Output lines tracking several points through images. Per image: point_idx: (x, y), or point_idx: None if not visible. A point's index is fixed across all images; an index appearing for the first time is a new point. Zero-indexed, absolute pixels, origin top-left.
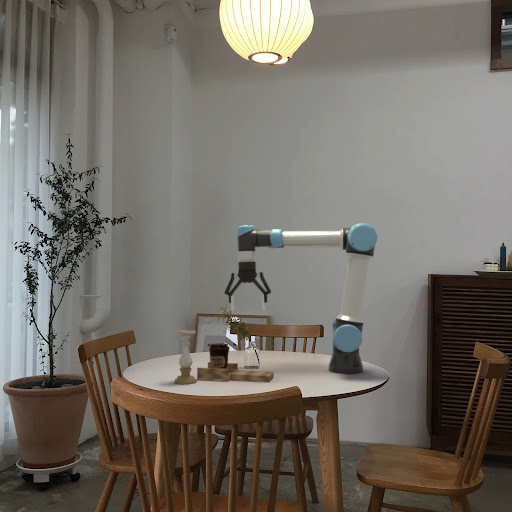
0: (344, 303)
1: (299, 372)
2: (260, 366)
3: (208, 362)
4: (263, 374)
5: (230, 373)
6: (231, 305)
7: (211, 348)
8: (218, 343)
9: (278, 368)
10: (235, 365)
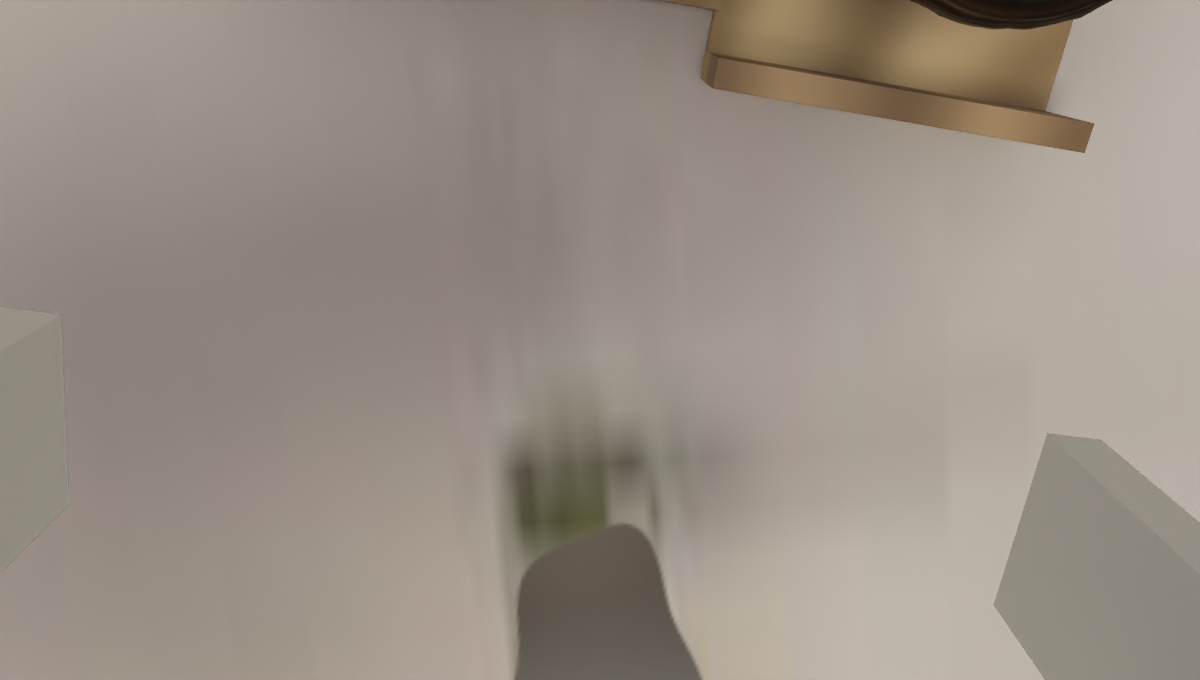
0: None
1: (57, 275)
2: (496, 566)
3: (1085, 122)
4: None
5: (782, 31)
6: (1198, 529)
7: None
8: None
9: (303, 475)
10: (737, 60)
